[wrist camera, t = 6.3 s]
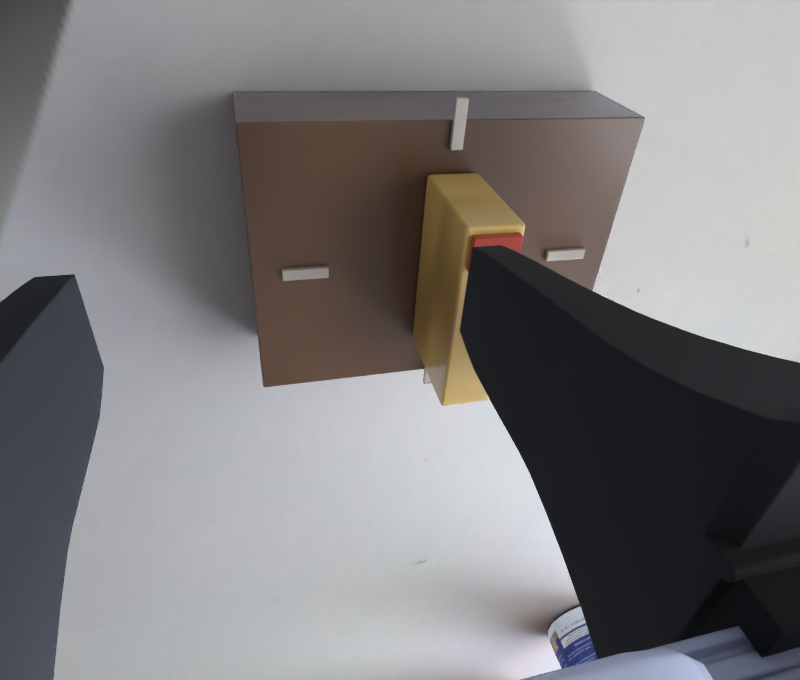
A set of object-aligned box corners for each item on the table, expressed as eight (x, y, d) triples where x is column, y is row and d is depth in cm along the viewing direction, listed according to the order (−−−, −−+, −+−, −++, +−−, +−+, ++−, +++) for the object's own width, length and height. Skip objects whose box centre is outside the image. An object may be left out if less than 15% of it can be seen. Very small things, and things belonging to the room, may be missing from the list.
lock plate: (259, 349, 23) (265, 403, 20) (230, 69, 17) (232, 99, 14) (538, 320, 26) (572, 365, 23) (600, 71, 20) (655, 98, 17)
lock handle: (454, 334, 21) (493, 406, 18) (411, 339, 20) (443, 412, 18) (478, 171, 17) (531, 228, 14) (426, 173, 17) (470, 232, 14)
